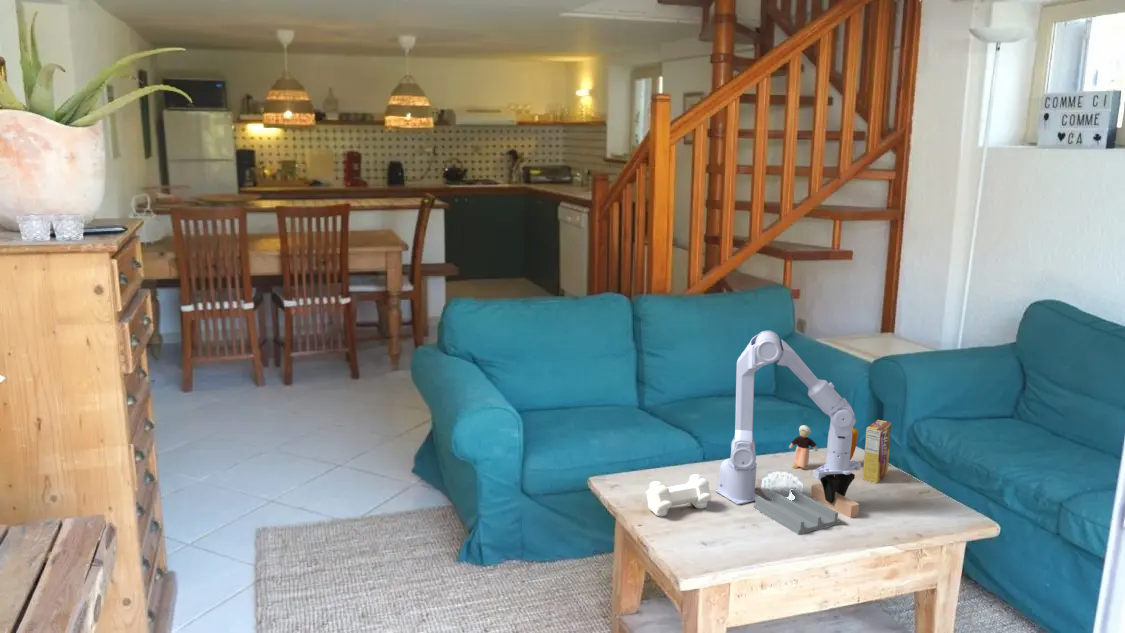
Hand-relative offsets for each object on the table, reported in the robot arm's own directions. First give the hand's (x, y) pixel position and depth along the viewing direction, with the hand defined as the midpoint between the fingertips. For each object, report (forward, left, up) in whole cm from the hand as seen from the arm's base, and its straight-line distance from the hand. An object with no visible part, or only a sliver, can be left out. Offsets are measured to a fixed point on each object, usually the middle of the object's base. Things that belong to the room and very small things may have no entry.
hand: (834, 500), depth 218 cm
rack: (0, -13, -2) cm, 13 cm away
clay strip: (0, 0, -2) cm, 2 cm away
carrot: (-19, +24, -2) cm, 31 cm away
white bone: (-16, -37, -2) cm, 40 cm away
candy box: (-9, +25, -2) cm, 26 cm away
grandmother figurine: (-23, +11, -2) cm, 26 cm away
